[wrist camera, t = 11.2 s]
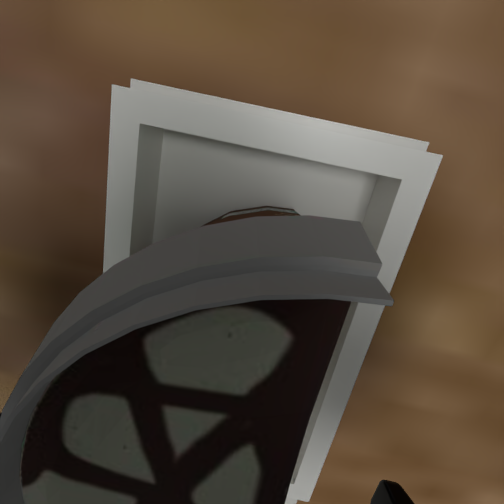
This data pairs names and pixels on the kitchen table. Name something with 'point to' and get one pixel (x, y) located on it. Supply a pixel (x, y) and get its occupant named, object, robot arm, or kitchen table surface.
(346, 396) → the dock
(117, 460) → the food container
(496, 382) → the kitchen table surface
